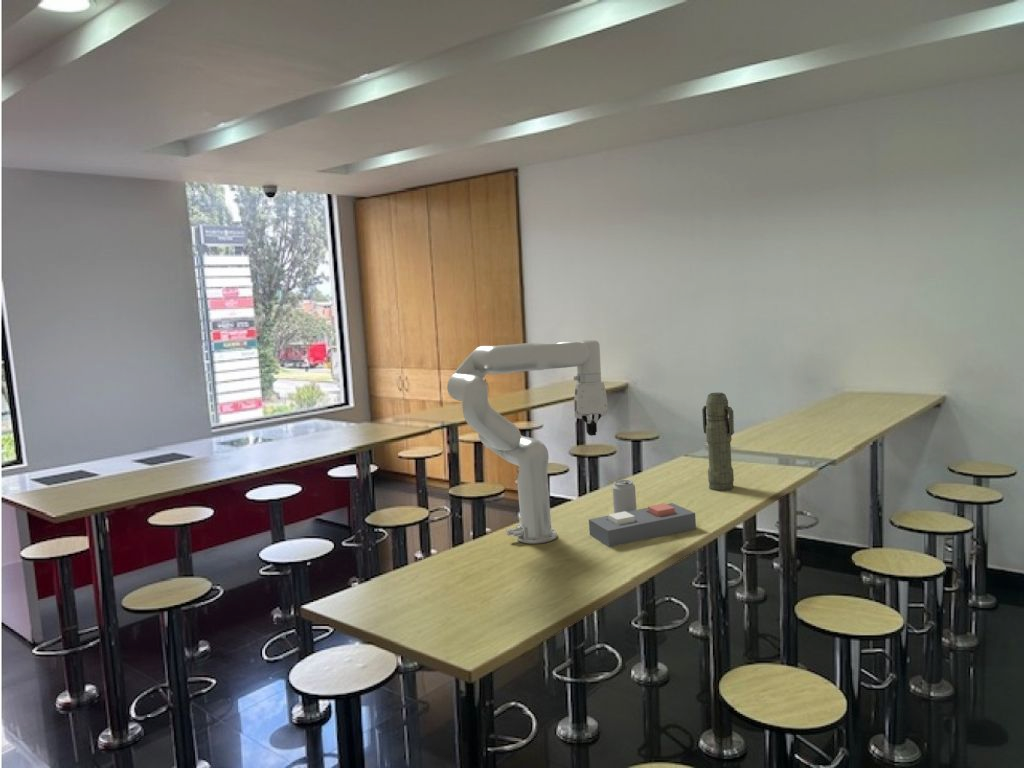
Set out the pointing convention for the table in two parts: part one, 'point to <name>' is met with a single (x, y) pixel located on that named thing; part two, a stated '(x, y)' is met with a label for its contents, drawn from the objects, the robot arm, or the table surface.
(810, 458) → the table surface
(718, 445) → the thermos
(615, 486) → the can
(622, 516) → the white key
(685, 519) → the key panel
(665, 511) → the red key
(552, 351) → the robot arm
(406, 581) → the table surface
